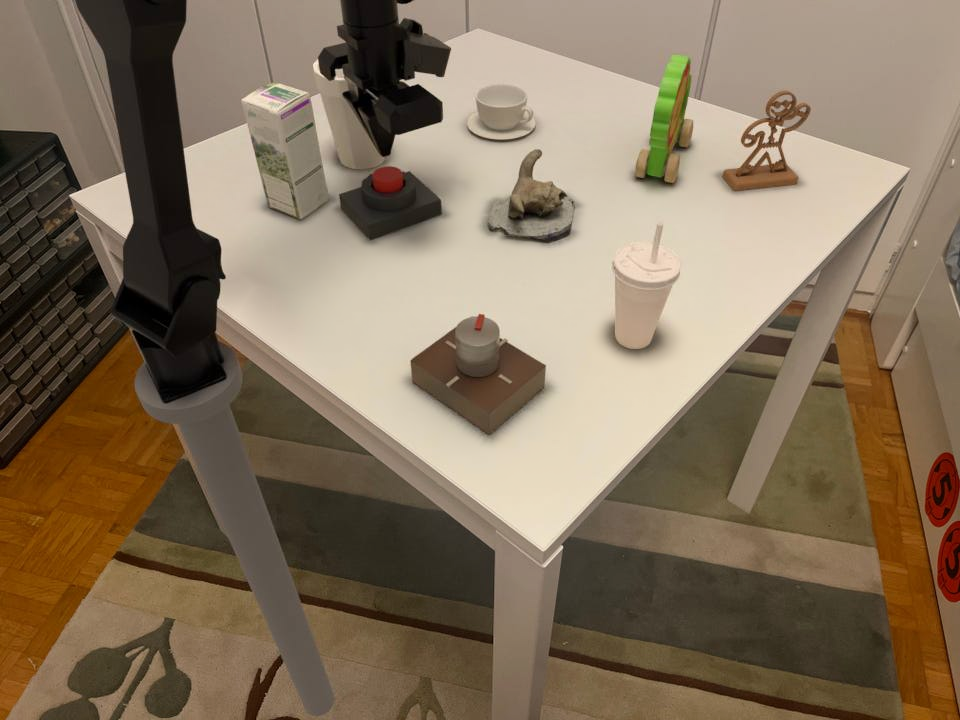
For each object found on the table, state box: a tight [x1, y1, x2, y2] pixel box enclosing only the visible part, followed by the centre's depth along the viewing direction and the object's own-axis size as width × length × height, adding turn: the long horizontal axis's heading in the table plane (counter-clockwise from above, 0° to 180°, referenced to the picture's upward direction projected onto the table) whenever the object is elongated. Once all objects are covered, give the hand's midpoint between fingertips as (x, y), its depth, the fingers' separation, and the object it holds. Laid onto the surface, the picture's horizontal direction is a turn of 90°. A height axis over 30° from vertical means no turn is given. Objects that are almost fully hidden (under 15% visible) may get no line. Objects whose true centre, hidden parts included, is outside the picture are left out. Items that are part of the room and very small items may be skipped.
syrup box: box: [240, 81, 330, 220], centre depth 90 cm, size 6×6×14 cm
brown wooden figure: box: [722, 90, 811, 192], centre depth 94 cm, size 9×4×12 cm, turn 101°
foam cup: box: [312, 58, 387, 170], centre depth 98 cm, size 10×9×13 cm
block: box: [338, 170, 443, 241], centre depth 92 cm, size 10×8×4 cm
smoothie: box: [611, 221, 682, 350], centre depth 72 cm, size 6×6×14 cm
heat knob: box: [455, 313, 501, 377], centre depth 68 cm, size 4×4×4 cm
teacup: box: [466, 83, 536, 140], centre depth 107 cm, size 10×10×5 cm
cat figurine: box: [487, 148, 575, 244], centre depth 91 cm, size 10×12×6 cm
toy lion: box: [634, 54, 694, 184], centre depth 96 cm, size 16×5×15 cm, turn 158°
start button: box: [371, 165, 403, 193], centre depth 90 cm, size 4×4×2 cm
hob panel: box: [409, 326, 547, 435], centre depth 71 cm, size 10×8×3 cm
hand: (384, 154), depth 88 cm, fingers closed
